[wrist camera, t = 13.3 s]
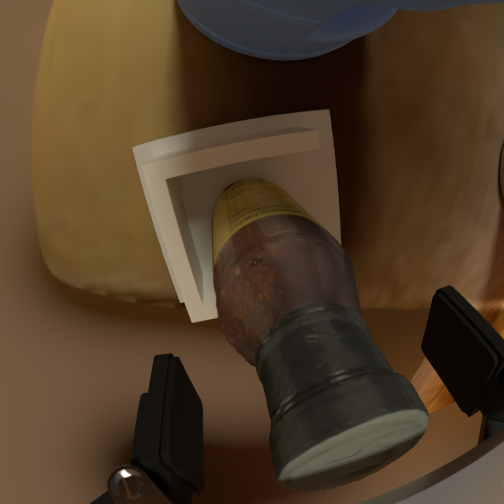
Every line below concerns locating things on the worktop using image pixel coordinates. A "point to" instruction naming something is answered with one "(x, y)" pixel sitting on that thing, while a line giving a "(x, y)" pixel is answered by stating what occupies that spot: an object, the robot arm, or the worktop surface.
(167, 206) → the end holder
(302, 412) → the sauce bottle
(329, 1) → the water jug
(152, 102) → the worktop surface
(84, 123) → the worktop surface
